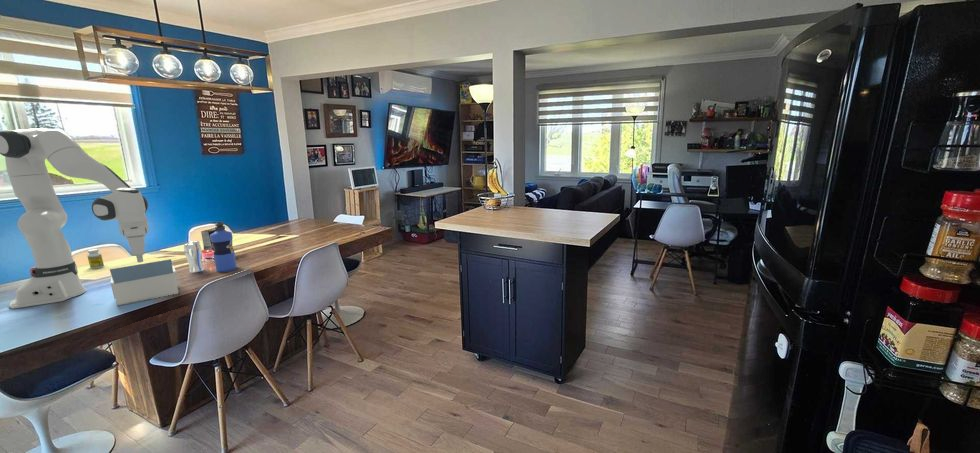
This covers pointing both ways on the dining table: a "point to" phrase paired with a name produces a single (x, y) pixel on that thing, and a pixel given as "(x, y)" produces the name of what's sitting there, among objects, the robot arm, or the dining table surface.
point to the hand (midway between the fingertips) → (140, 261)
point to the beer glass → (194, 256)
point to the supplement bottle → (95, 258)
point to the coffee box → (207, 239)
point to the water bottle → (223, 249)
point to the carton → (145, 288)
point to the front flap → (141, 271)
